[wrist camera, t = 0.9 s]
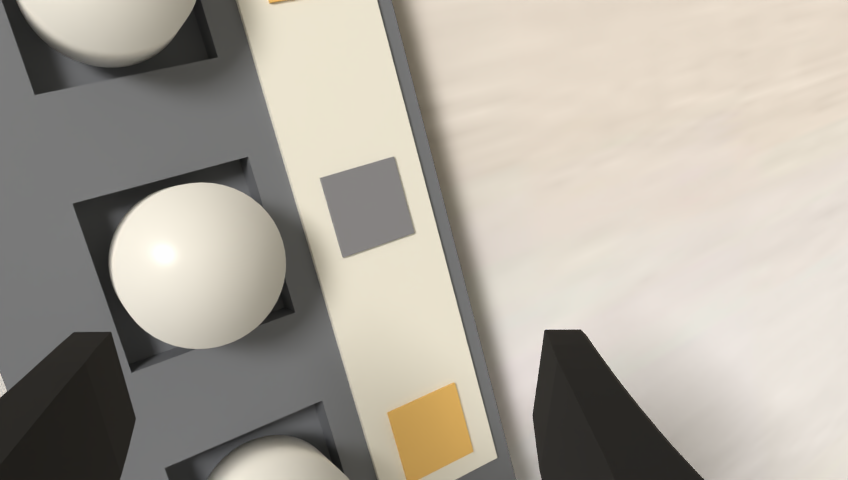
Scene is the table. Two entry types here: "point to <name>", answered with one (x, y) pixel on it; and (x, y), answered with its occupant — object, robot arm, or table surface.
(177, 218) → the middle button
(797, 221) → the table surface
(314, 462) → the button
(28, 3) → the button
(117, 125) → the button board
